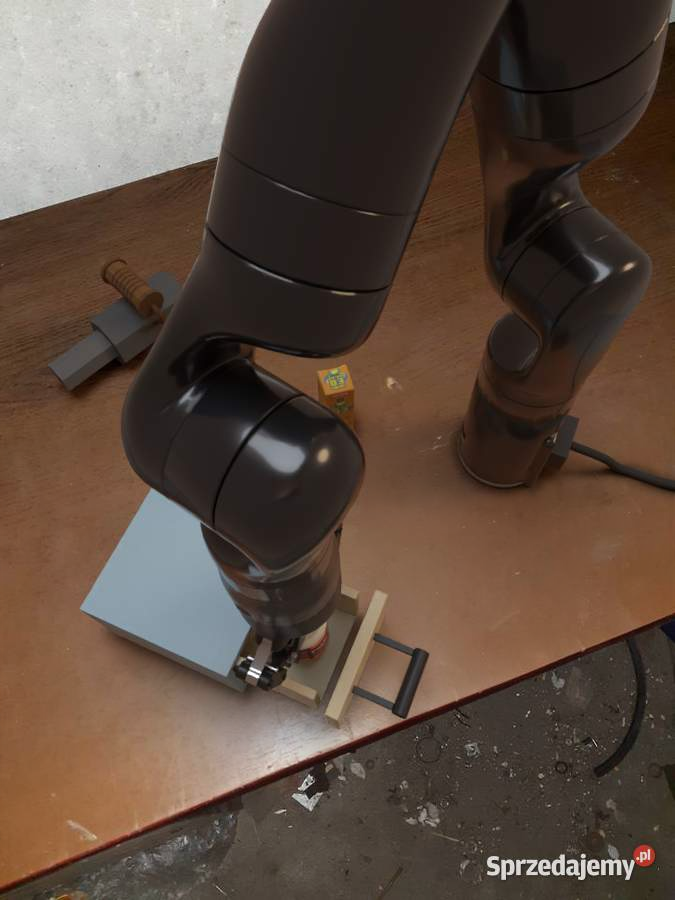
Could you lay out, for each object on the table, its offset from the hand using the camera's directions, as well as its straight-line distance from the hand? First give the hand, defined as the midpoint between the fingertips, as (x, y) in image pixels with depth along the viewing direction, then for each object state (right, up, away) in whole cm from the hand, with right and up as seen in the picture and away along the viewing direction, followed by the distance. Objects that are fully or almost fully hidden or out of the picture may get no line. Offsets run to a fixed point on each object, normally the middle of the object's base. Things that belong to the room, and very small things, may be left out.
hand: (301, 625), depth 59 cm
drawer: (+2, -4, +7) cm, 9 cm away
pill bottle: (0, -2, +4) cm, 5 cm away
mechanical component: (-23, +27, +25) cm, 44 cm away
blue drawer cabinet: (-10, -1, +11) cm, 15 cm away
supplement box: (+3, +18, +20) cm, 27 cm away
